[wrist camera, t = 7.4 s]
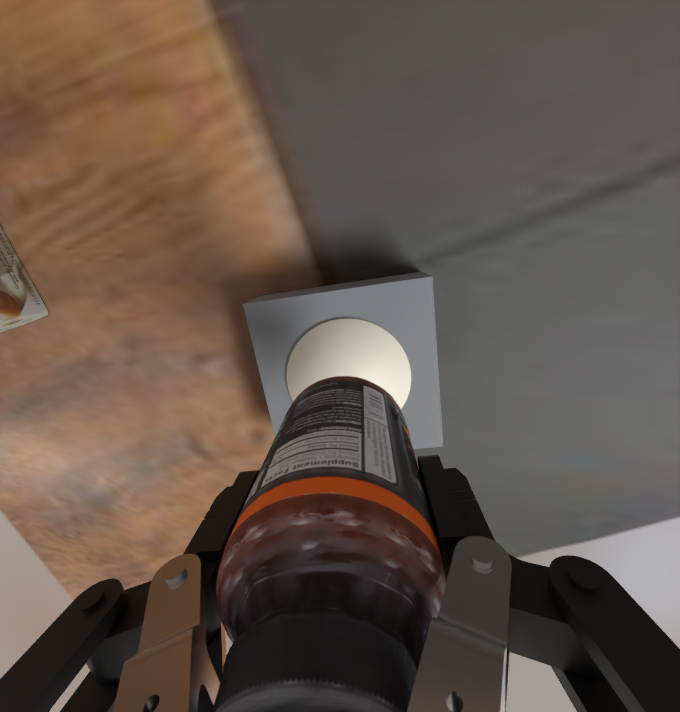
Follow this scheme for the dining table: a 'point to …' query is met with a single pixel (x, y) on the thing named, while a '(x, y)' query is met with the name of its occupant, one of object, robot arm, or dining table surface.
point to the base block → (353, 345)
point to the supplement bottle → (331, 562)
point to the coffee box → (16, 290)
